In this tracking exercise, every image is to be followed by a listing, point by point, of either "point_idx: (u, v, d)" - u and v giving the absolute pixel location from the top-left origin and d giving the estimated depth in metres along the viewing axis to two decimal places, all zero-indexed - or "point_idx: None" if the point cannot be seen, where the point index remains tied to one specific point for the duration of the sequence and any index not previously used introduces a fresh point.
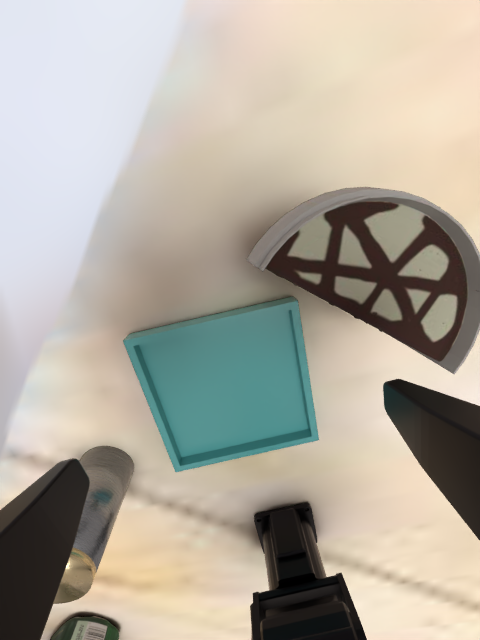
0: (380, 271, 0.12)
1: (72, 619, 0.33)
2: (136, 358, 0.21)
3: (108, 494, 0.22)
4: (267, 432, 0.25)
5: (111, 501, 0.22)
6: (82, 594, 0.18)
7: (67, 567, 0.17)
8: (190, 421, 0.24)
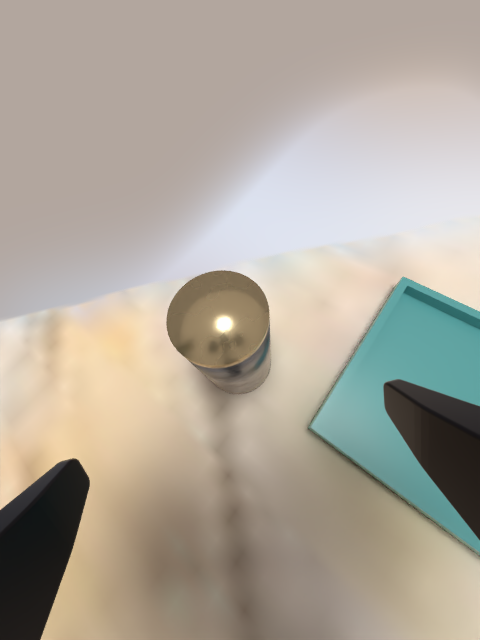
0: None
1: None
2: (399, 295, 0.20)
3: (269, 352, 0.17)
4: None
5: (267, 357, 0.16)
6: (208, 362, 0.12)
7: (251, 316, 0.13)
8: (374, 396, 0.18)
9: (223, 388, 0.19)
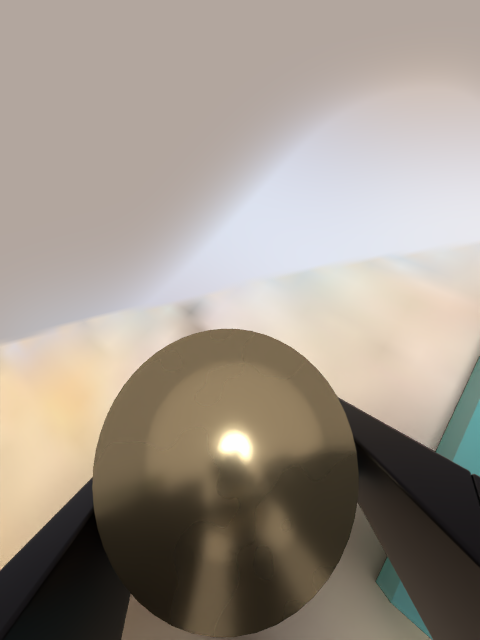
0: None
1: None
2: None
3: None
4: None
5: None
6: (195, 621, 0.04)
7: (308, 464, 0.05)
8: None
9: None
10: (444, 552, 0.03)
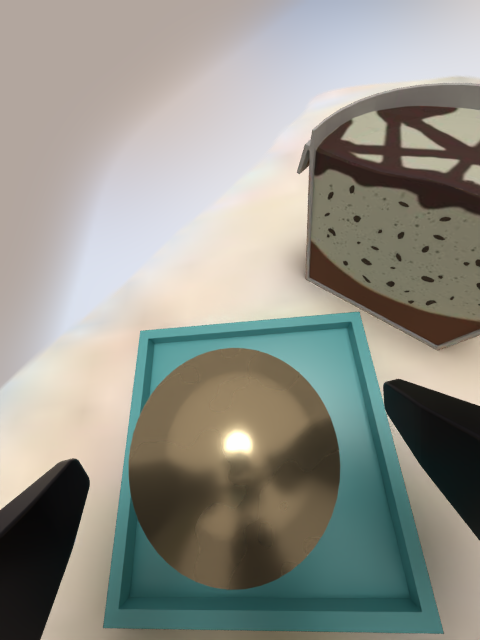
0: (459, 152, 0.10)
1: None
2: (145, 355, 0.16)
3: None
4: (314, 577, 0.12)
5: None
6: (213, 578, 0.05)
7: (301, 459, 0.06)
8: None
9: None
10: None
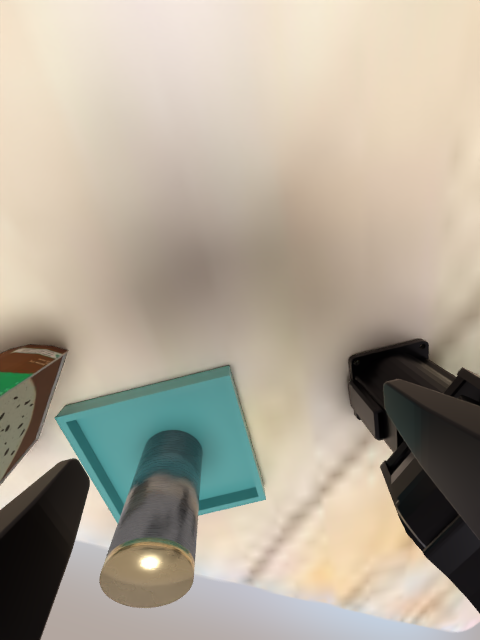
0: None
1: None
2: None
3: (163, 472, 0.19)
4: (228, 417, 0.23)
5: (169, 476, 0.18)
6: (191, 574, 0.15)
7: (142, 560, 0.14)
8: (212, 481, 0.25)
9: None
10: None
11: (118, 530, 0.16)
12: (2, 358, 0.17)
